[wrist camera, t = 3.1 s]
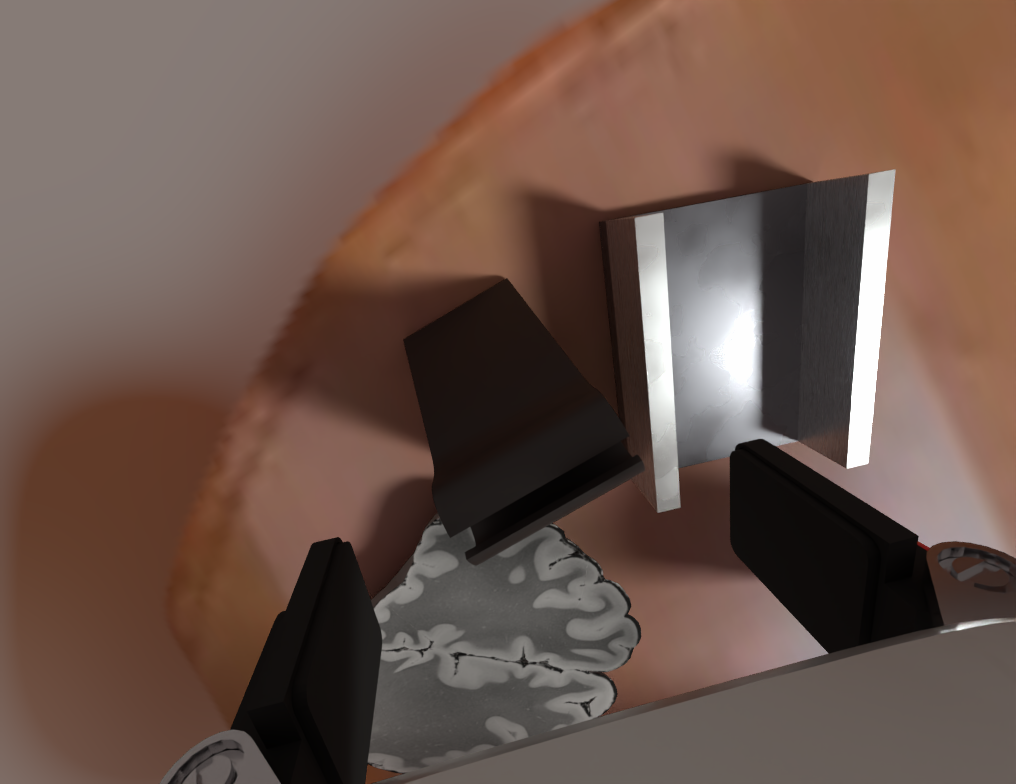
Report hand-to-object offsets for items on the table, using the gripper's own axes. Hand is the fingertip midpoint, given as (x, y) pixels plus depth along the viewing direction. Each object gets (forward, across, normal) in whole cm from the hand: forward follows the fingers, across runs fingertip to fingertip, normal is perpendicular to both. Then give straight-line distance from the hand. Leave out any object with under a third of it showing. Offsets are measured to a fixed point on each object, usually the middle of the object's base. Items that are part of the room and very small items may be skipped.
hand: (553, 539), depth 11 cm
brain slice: (+15, +3, +16) cm, 22 cm away
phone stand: (+15, 0, +1) cm, 15 cm away
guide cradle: (+14, -12, +1) cm, 19 cm away
